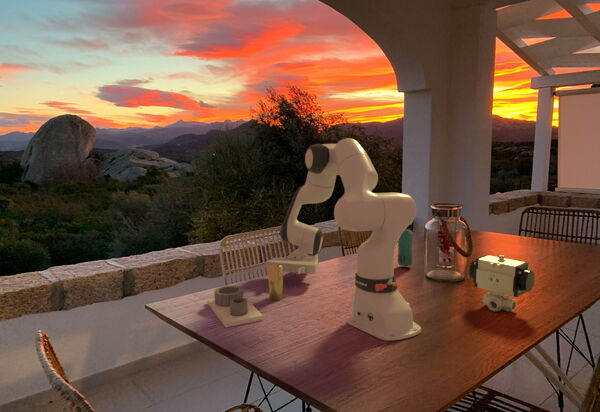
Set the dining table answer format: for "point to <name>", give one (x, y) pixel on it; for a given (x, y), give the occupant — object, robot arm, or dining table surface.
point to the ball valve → (501, 280)
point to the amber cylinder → (275, 281)
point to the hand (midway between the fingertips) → (285, 271)
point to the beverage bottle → (405, 248)
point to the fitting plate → (235, 319)
